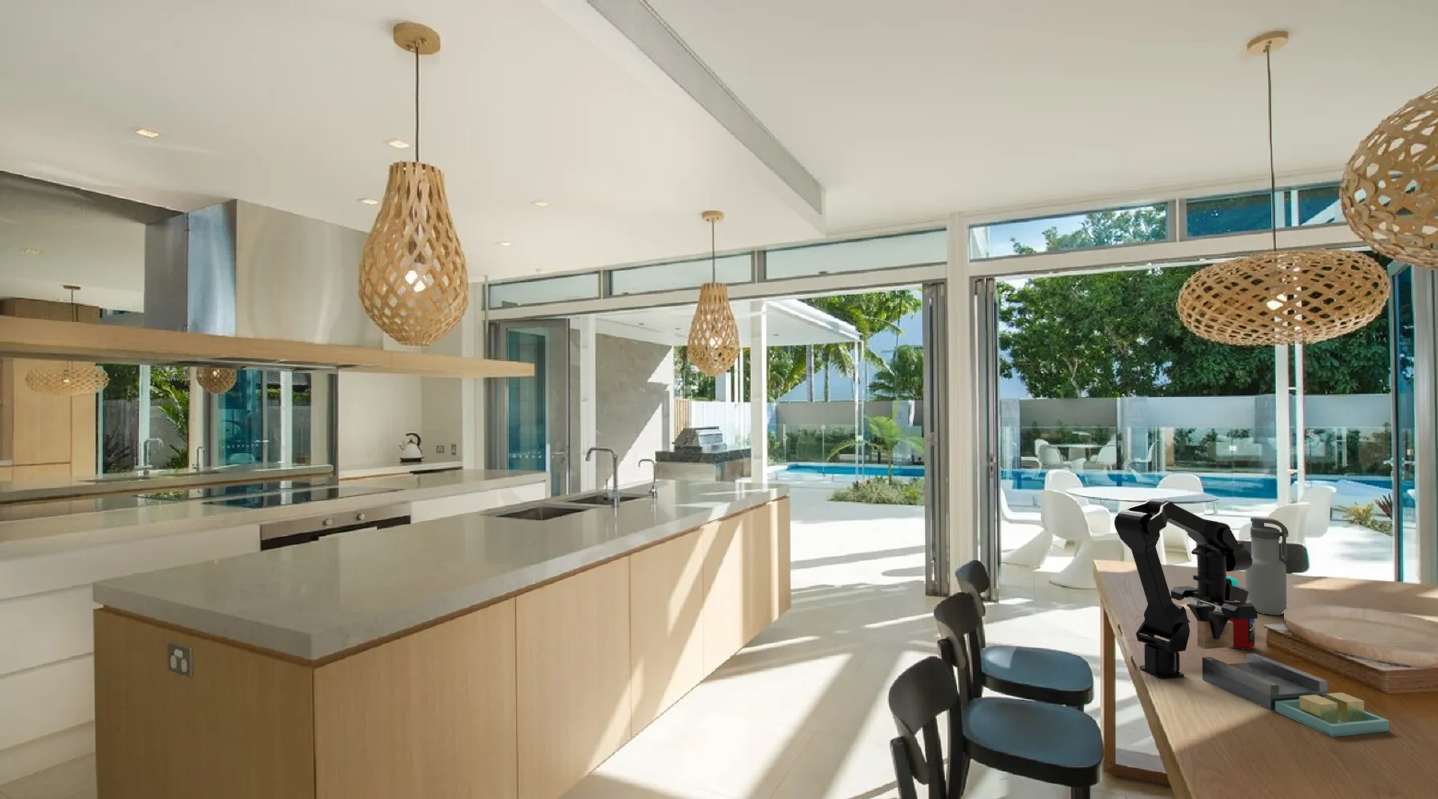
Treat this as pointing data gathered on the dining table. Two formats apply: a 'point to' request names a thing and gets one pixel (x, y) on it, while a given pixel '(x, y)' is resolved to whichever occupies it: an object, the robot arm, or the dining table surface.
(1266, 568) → the water bottle
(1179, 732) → the dining table surface
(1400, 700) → the dining table surface
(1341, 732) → the tray
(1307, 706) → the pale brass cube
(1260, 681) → the slot block
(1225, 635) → the wooden block
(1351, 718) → the yellow cube
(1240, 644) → the beverage can
